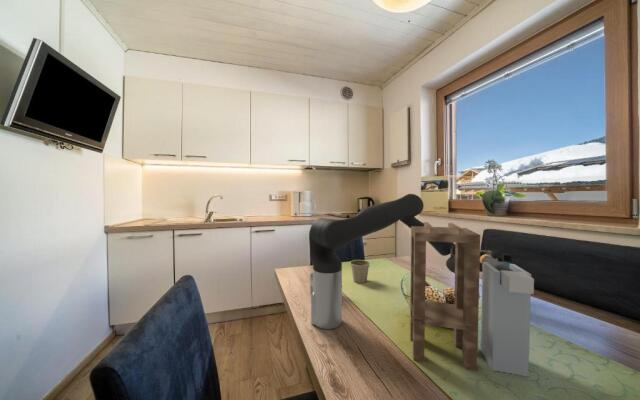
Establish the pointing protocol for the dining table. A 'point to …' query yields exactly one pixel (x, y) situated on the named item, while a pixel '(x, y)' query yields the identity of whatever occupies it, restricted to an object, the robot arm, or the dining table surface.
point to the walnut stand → (466, 291)
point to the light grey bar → (511, 277)
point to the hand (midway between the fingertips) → (481, 252)
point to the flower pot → (360, 270)
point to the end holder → (504, 323)
